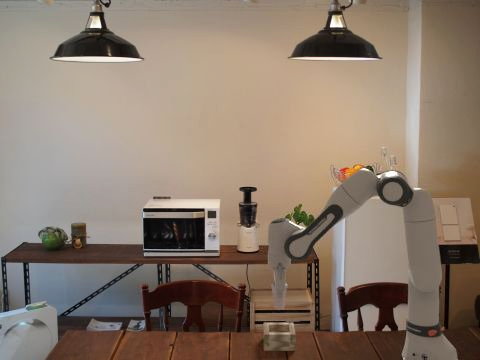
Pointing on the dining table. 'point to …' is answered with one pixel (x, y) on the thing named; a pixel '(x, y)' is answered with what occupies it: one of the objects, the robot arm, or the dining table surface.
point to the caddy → (279, 337)
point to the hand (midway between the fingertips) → (279, 294)
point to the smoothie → (278, 301)
